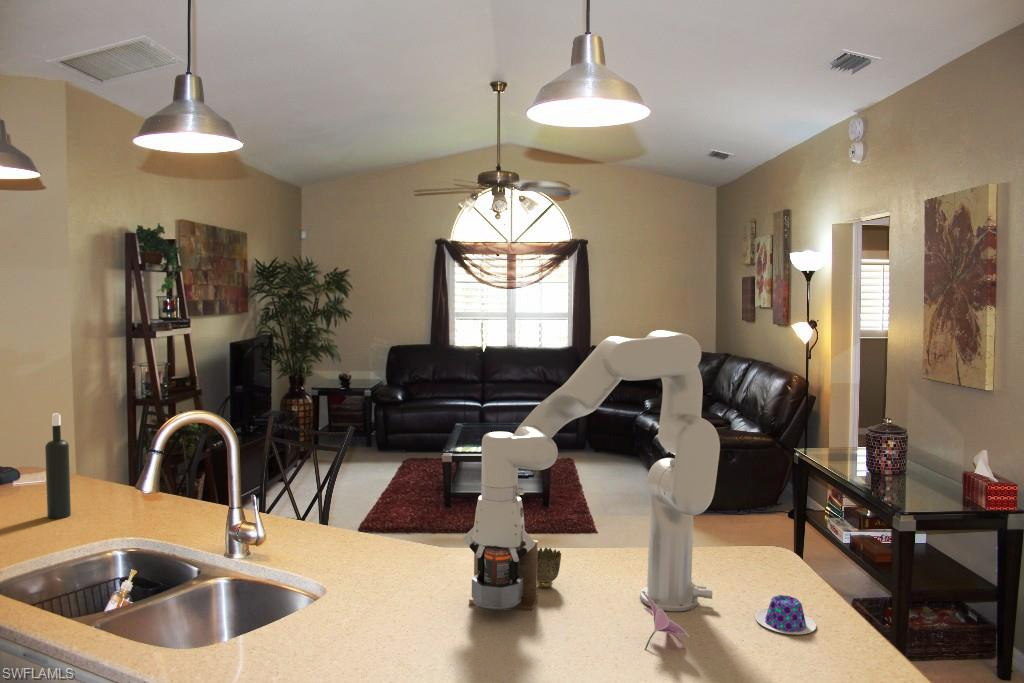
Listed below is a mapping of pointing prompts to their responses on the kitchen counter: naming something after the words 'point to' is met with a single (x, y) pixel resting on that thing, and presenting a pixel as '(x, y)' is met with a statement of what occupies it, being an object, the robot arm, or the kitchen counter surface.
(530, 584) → the cup bracket
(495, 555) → the supplement bottle
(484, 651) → the kitchen counter surface
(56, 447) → the wine bottle
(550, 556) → the cup
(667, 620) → the lily
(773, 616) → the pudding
